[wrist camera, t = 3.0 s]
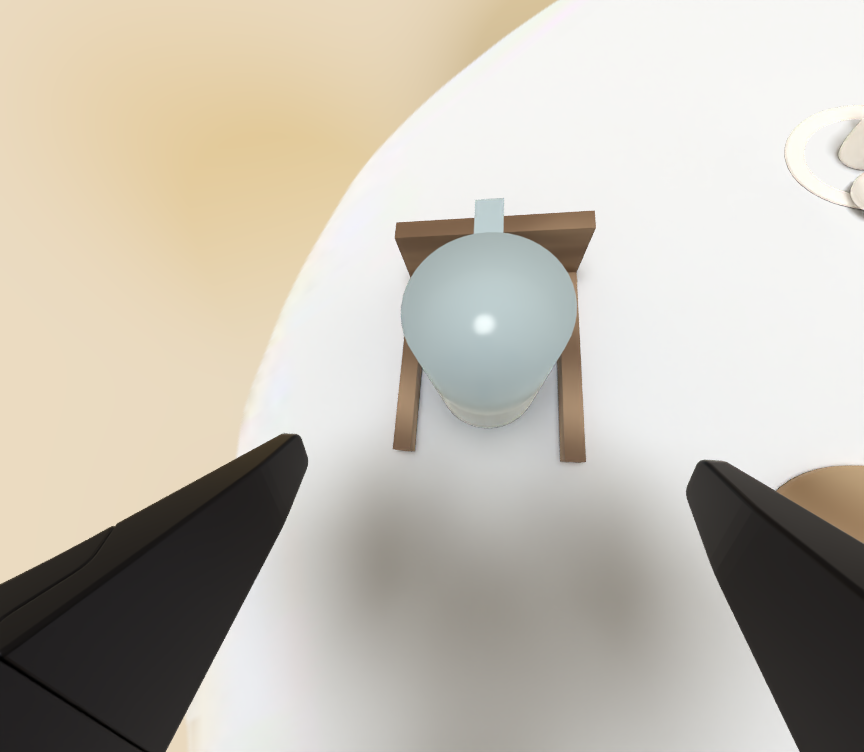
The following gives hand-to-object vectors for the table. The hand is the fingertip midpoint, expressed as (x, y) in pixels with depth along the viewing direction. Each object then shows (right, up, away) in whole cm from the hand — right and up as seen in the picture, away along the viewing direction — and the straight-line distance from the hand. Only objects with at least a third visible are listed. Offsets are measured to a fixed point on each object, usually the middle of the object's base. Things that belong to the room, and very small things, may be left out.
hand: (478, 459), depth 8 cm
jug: (+2, +3, +13) cm, 13 cm away
